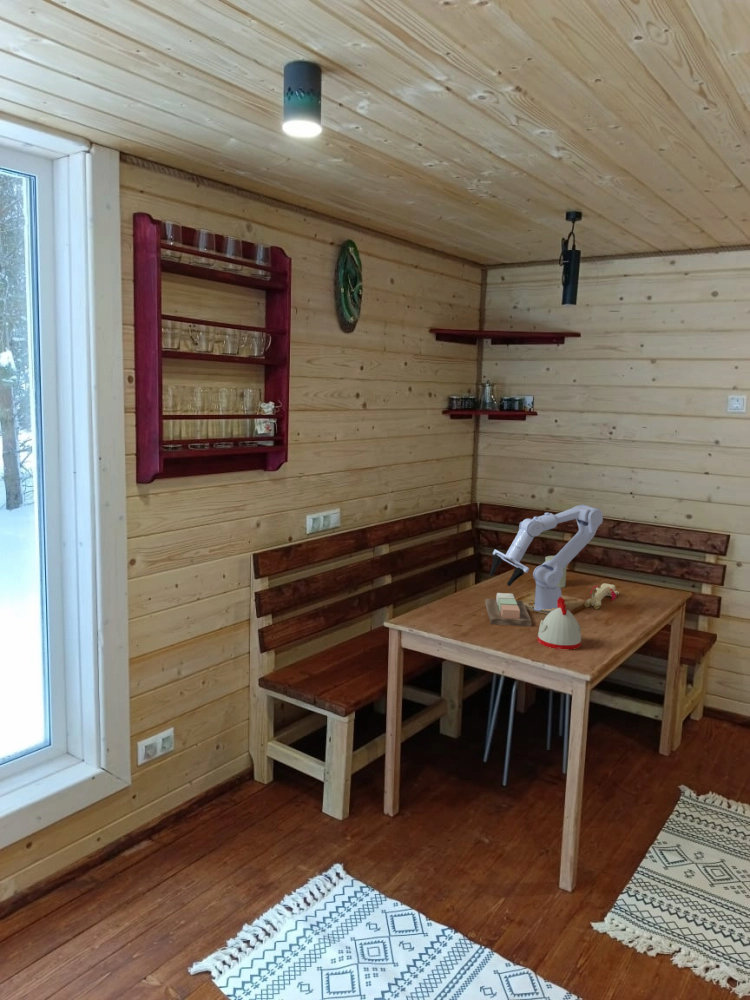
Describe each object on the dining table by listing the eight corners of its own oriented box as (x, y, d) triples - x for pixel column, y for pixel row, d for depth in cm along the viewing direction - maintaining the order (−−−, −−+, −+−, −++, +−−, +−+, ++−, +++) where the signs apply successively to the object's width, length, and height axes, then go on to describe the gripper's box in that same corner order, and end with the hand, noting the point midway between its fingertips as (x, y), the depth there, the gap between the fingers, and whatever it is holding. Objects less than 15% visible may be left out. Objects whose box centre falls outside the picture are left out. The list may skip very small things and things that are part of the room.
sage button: (514, 608, 279) (515, 599, 278) (516, 613, 273) (517, 604, 272) (498, 607, 279) (498, 598, 278) (499, 612, 273) (500, 603, 272)
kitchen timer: (573, 636, 256) (577, 593, 253) (586, 650, 242) (590, 605, 240) (533, 635, 255) (536, 592, 253) (543, 649, 242) (547, 604, 239)
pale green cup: (567, 588, 315) (570, 560, 313) (545, 587, 314) (548, 559, 313) (562, 582, 324) (564, 555, 322) (540, 581, 324) (543, 554, 322)
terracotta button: (517, 614, 271) (517, 605, 271) (519, 620, 265) (520, 610, 265) (500, 613, 272) (501, 604, 271) (502, 619, 266) (502, 609, 265)
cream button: (512, 602, 286) (512, 593, 285) (514, 607, 280) (514, 598, 280) (496, 601, 286) (496, 592, 286) (497, 606, 280) (498, 597, 280)
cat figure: (604, 614, 286) (622, 594, 306) (605, 592, 284) (624, 574, 304) (578, 609, 291) (598, 589, 312) (579, 587, 289) (599, 569, 310)
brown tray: (521, 605, 288) (522, 600, 287) (531, 626, 264) (531, 620, 264) (485, 603, 288) (485, 598, 288) (490, 624, 265) (491, 618, 264)
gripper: (498, 537, 277) (480, 568, 277) (532, 555, 270) (513, 588, 269) (503, 541, 283) (485, 572, 283) (536, 559, 276) (518, 591, 276)
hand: (499, 580), depth 276 cm, fingers open, 7 cm apart
